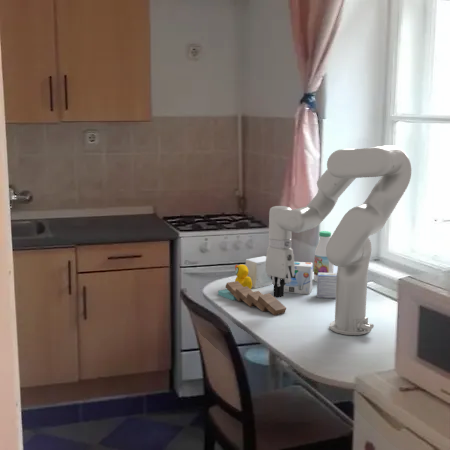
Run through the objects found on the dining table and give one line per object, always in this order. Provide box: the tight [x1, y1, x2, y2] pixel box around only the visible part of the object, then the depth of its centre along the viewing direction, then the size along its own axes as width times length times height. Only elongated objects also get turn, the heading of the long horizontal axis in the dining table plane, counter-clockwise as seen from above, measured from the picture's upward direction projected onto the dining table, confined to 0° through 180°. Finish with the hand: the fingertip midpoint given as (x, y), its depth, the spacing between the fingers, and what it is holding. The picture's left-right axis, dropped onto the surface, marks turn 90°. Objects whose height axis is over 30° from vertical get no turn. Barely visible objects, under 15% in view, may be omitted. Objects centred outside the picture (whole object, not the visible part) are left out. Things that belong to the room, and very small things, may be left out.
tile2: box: [247, 290, 269, 312], centre depth 241 cm, size 2×5×9 cm
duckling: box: [234, 263, 252, 290], centre depth 261 cm, size 11×5×10 cm, turn 25°
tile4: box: [225, 281, 244, 302], centre depth 252 cm, size 2×5×9 cm
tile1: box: [258, 292, 287, 316], centre depth 237 cm, size 2×5×9 cm
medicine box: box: [316, 272, 337, 299], centre depth 255 cm, size 8×4×9 cm, turn 84°
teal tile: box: [218, 288, 238, 301], centre depth 255 cm, size 2×5×9 cm
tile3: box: [235, 286, 257, 308], centre depth 246 cm, size 2×5×9 cm
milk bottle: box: [313, 230, 335, 282], centre depth 277 cm, size 8×8×20 cm
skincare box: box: [244, 255, 272, 289], centre depth 270 cm, size 10×6×10 cm, turn 132°
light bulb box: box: [284, 261, 314, 295], centre depth 262 cm, size 11×7×11 cm, turn 76°
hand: (278, 296), depth 234 cm, fingers closed
